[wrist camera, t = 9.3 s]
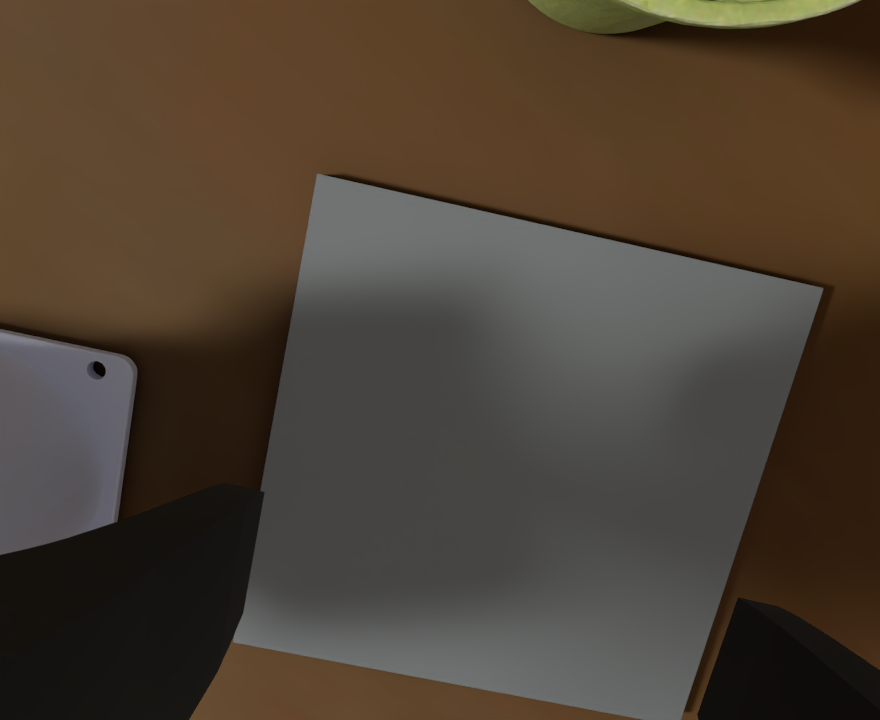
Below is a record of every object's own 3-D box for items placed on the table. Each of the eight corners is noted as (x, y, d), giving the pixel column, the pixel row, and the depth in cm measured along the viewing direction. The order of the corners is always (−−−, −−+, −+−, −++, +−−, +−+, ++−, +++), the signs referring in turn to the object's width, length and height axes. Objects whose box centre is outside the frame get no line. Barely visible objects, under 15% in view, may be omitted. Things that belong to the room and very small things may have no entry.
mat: (238, 630, 22) (232, 642, 22) (320, 174, 19) (317, 173, 19) (672, 713, 23) (678, 726, 22) (812, 285, 20) (824, 288, 20)
